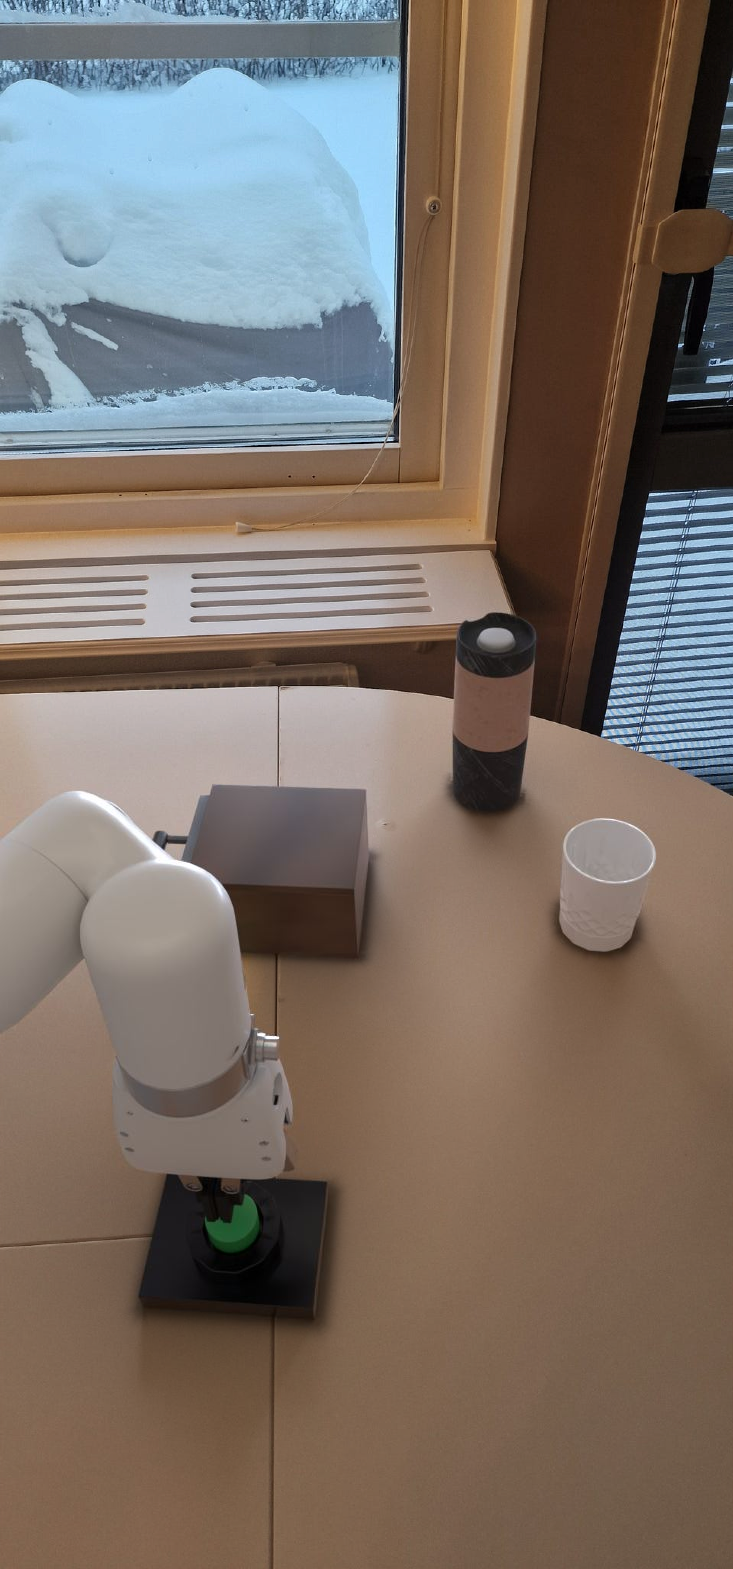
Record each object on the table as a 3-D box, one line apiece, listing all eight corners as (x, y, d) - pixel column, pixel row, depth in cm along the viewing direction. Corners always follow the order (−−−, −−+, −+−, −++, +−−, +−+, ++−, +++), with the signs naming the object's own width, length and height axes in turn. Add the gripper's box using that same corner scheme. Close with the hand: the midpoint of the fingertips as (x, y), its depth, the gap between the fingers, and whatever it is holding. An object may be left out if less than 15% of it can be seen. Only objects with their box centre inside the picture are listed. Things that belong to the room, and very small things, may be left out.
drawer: (141, 939, 95) (125, 881, 90) (168, 850, 104) (155, 793, 99) (333, 947, 94) (328, 889, 89) (345, 857, 102) (341, 799, 97)
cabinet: (200, 953, 95) (184, 882, 89) (224, 854, 104) (212, 783, 98) (358, 960, 94) (354, 888, 87) (369, 859, 103) (366, 788, 97)
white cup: (631, 968, 92) (648, 892, 86) (544, 945, 94) (554, 870, 88) (645, 905, 98) (662, 829, 91) (562, 885, 100) (573, 810, 93)
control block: (143, 1309, 72) (133, 1285, 69) (171, 1185, 78) (163, 1159, 76) (315, 1321, 71) (311, 1297, 68) (329, 1195, 78) (326, 1169, 75)
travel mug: (513, 822, 106) (528, 662, 93) (441, 807, 108) (446, 649, 95) (529, 775, 112) (545, 618, 98) (460, 762, 114) (467, 606, 100)
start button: (203, 1251, 71) (200, 1240, 70) (213, 1201, 74) (210, 1189, 73) (255, 1255, 71) (252, 1243, 70) (263, 1204, 73) (261, 1192, 72)
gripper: (327, 999, 60) (338, 1156, 72) (75, 985, 61) (129, 1142, 73) (312, 1117, 54) (327, 1265, 67) (35, 1100, 55) (100, 1248, 68)
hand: (223, 1200), depth 70 cm, fingers closed
